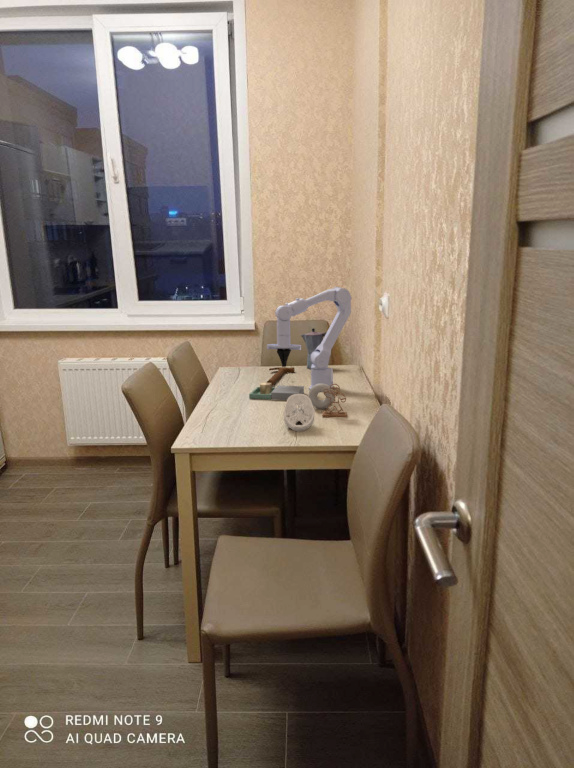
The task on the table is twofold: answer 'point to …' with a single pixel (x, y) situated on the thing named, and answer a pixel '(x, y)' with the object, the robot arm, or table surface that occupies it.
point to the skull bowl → (299, 412)
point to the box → (256, 394)
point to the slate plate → (286, 392)
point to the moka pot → (312, 343)
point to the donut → (314, 399)
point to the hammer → (279, 373)
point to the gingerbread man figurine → (334, 414)
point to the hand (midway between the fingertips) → (284, 366)
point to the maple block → (265, 388)
